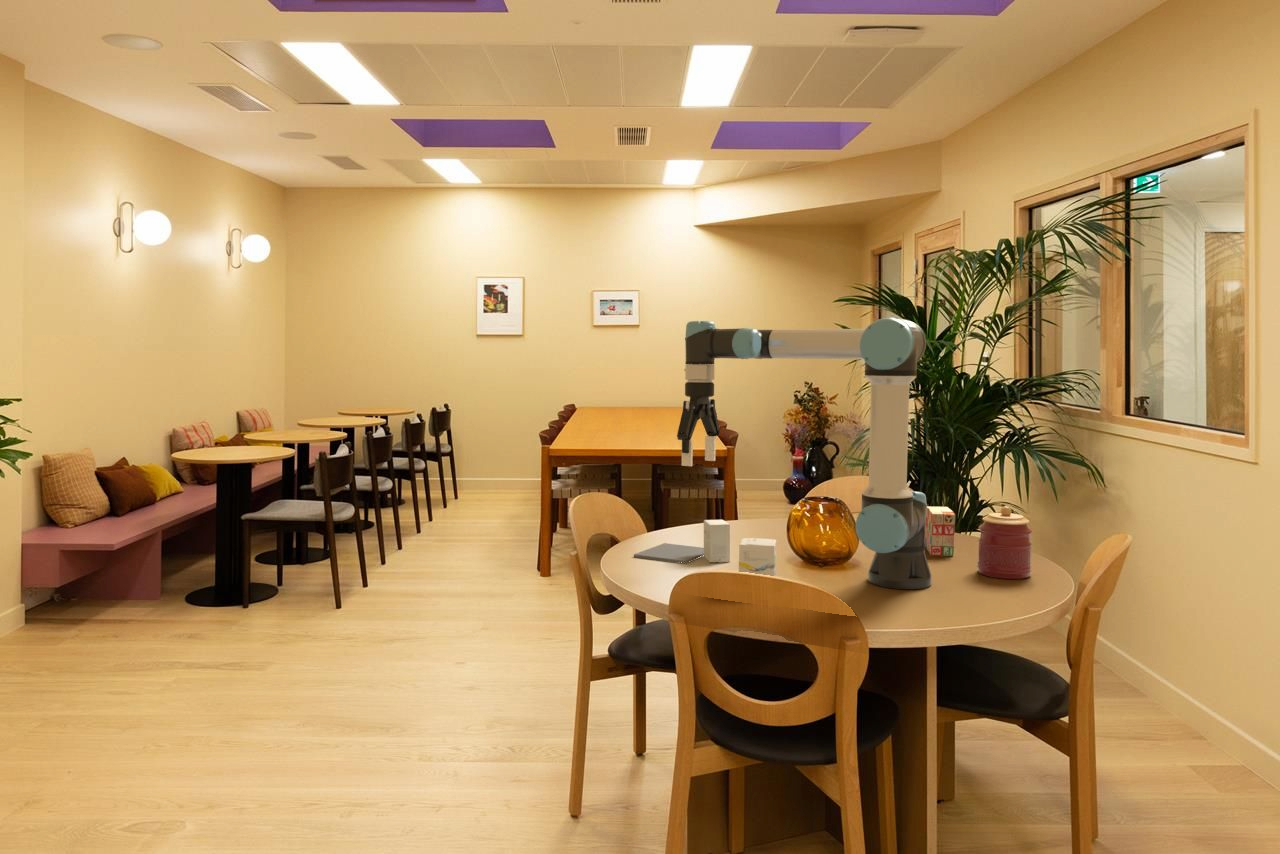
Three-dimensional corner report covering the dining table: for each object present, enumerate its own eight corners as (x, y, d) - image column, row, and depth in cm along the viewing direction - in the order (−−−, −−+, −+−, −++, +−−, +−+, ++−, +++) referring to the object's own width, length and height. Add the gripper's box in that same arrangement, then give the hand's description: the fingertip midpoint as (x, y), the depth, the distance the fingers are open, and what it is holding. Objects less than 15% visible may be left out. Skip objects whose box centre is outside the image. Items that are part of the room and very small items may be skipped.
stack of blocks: (920, 541, 285) (921, 501, 284) (942, 541, 284) (943, 501, 283) (930, 556, 263) (932, 512, 262) (954, 557, 262) (955, 513, 262)
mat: (713, 551, 267) (713, 548, 267) (685, 563, 251) (685, 560, 251) (664, 545, 275) (664, 543, 275) (633, 557, 259) (633, 554, 259)
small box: (729, 562, 253) (730, 524, 252) (709, 563, 252) (710, 524, 252) (722, 556, 261) (723, 519, 260) (703, 556, 260) (703, 519, 260)
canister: (966, 570, 246) (968, 503, 244) (1005, 566, 250) (1007, 501, 249) (1001, 581, 233) (1004, 511, 232) (1042, 577, 238) (1045, 509, 237)
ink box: (774, 594, 220) (774, 545, 219) (737, 592, 222) (738, 543, 221) (776, 585, 228) (776, 538, 228) (741, 583, 230) (741, 537, 229)
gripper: (707, 380, 254) (706, 457, 255) (663, 382, 232) (663, 467, 234) (732, 380, 250) (731, 459, 252) (690, 382, 228) (690, 469, 230)
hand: (698, 463), depth 243 cm, fingers open, 13 cm apart
